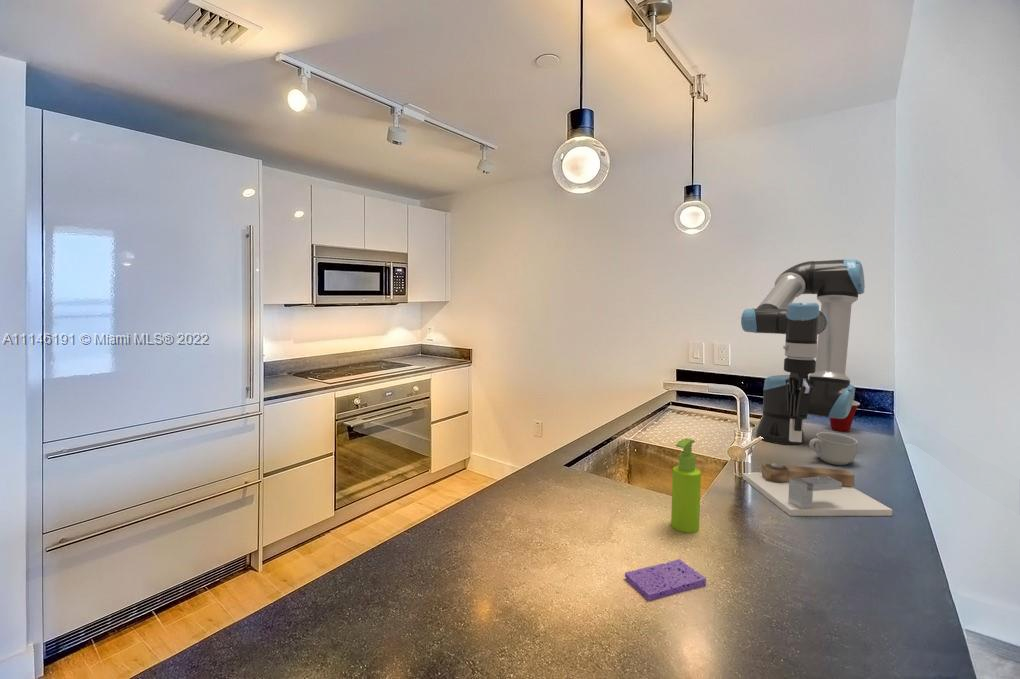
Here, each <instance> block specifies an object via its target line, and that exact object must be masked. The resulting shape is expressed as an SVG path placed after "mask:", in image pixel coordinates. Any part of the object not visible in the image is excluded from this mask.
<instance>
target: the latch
mask: <svg viewBox="0 0 1020 679" xmlns="http://www.w3.org/2000/svg"><path fill="white" fill-rule="evenodd" d="M761 472H762V475H763V477H764V478H765V479H766V480H771V481H775V482H789V479H791V478H808V477H825V476H829V477H831V478H833V479H835V480H837V481H839V482H842V486H851V487H853V488H855V486H854V485H855V474H854V473H852V472H851V471H849V470H848V469H840V468H839V469H838V468H825V467H824V468H822V467H809V466H808V467H806V466H796V465H795V466H793V465H792V466H791V465H782V464H781V463H778V462H771V463H767V464H762V465H761Z"/></svg>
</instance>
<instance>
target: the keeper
mask: <svg viewBox="0 0 1020 679" xmlns="http://www.w3.org/2000/svg"><path fill="white" fill-rule="evenodd" d="M841 488H842V482H839V481H837V480H835V479H833V478H831V477H829V476H825V477H808V478H791V479H789V496H788V502H789V503H791V504H792V505H794V506H796V507H797V508H799V509H812V499H813V491H820V490H836V489H841Z"/></svg>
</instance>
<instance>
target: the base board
mask: <svg viewBox="0 0 1020 679" xmlns="http://www.w3.org/2000/svg"><path fill="white" fill-rule="evenodd" d="M742 477H743V478H742V480H743V481H745V480H746V481H745V482H747V484H749V485H750V486H751V485H752V486H751V487H753V488H754V489H755V490H756V491H758V492H759V493H761V495H763V496H764V497H765V498H766V499H768V500H769V501H771V503H773V504H774V505H776V506H777V507H778V508H779V509H781V510H782V511H783V512H785V513H786V514H787V515H788V516H790V517H792V516H793V517H795V516H797V517H802V516H803V517H807V516H808V517H811V516H812V517H817V516H818V517H827V516H828V517H835V516H836V517H838V516H839V517H843V516H844V517H850V516H851V517H855V516H857V517H864V516H865V517H869V516H870V517H884V516H885V517H892V516H893V509H891V508H890V507H888V506H886V505H885V504H883V503H881V502H880V501H877V500H875V499H874V498H872V497H870V496H869V495H867V494H865V493H863V492H862V491H860V490H858V489H857V488H855V487H853V486H842V488H841V489H836V490H820V491H813V499H812V509H799V508H797V507H796V506H794V505H792V504H791V503H789V502H788V496H789V482H775V481H771V480H766V479H765V478H764V477H763V475H762V471H761V472H755V471H754V472H752V471H751V474H746V473H742Z"/></svg>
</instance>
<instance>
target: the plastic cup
mask: <svg viewBox="0 0 1020 679" xmlns="http://www.w3.org/2000/svg"><path fill="white" fill-rule="evenodd" d="M860 405H861V403H860V402H858V401H856V400H855V399H854V400H853V404H852V407H851V410H850V412H849V414H848V416H847V417H846V418H843V419H838V418H829V422H830V428H832V429H833V431H835V432H843V433H846V432H847V433H849V432H850V430H851V427H852V423H853V421H854V417H855V414H856V411H857V410H858V407H859V406H860ZM832 429H831V430H832Z"/></svg>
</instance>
